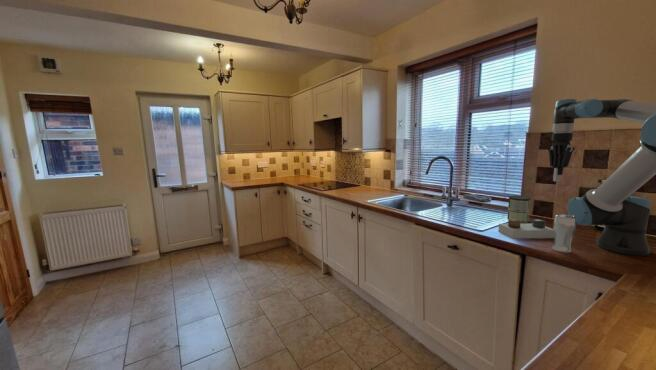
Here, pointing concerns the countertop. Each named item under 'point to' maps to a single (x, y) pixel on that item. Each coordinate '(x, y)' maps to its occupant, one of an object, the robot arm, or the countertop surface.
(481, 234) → the countertop surface
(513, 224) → the knob walnut
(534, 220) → the knob black
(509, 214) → the coffee can
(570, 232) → the beer glass
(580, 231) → the countertop surface
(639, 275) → the countertop surface
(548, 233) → the knob mount
